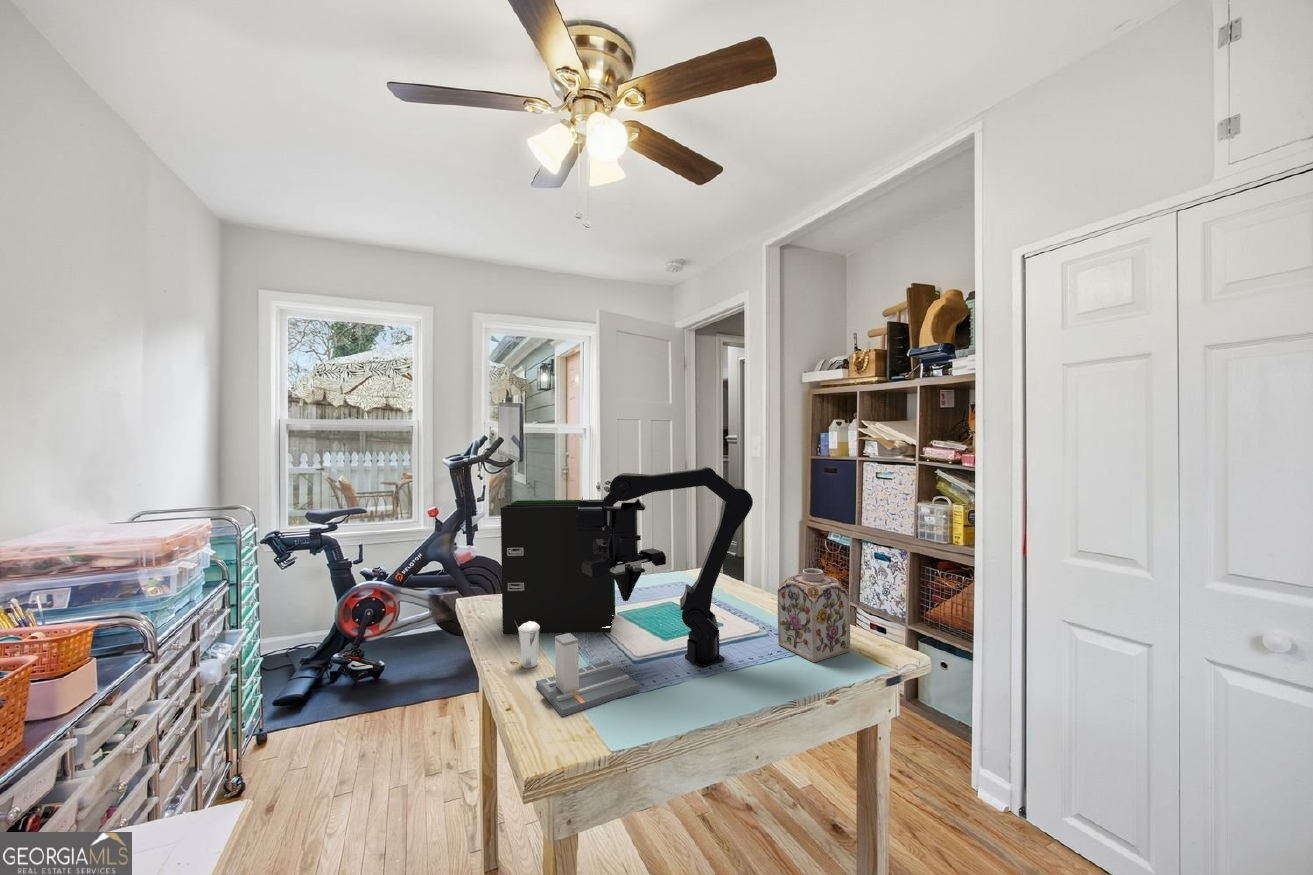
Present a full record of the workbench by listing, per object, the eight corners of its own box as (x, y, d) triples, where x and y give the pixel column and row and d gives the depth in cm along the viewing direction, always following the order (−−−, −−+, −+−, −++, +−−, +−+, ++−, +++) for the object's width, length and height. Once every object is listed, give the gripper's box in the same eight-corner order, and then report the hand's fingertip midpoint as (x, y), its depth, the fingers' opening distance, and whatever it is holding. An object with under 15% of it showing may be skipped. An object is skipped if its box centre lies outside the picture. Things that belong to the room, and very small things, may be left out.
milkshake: (517, 661, 113) (516, 616, 113) (541, 659, 114) (541, 614, 114) (513, 670, 109) (512, 623, 109) (538, 669, 109) (538, 622, 109)
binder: (615, 613, 142) (613, 499, 142) (610, 634, 128) (608, 506, 127) (518, 614, 143) (516, 500, 142) (501, 635, 128) (499, 508, 128)
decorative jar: (852, 652, 115) (851, 572, 115) (814, 664, 109) (813, 580, 109) (812, 634, 126) (811, 561, 125) (776, 644, 120) (775, 568, 120)
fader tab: (570, 681, 100) (569, 632, 100) (578, 689, 97) (578, 639, 97) (555, 685, 99) (555, 636, 99) (564, 694, 95) (563, 643, 95)
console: (607, 665, 110) (607, 653, 110) (639, 690, 99) (639, 676, 99) (533, 687, 101) (533, 674, 101) (559, 717, 90) (559, 702, 90)
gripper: (641, 521, 125) (641, 584, 125) (570, 529, 115) (571, 599, 115) (667, 527, 116) (668, 596, 116) (592, 537, 105) (594, 613, 105)
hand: (625, 600), depth 113 cm, fingers closed
